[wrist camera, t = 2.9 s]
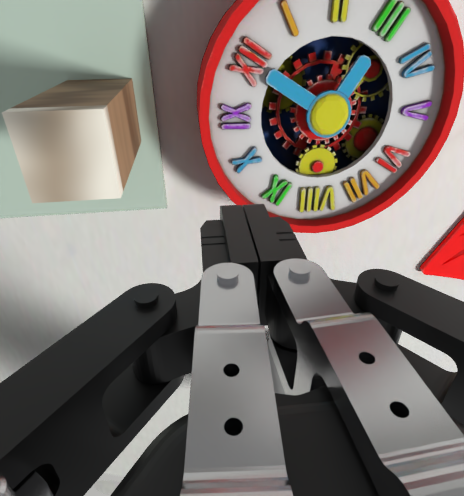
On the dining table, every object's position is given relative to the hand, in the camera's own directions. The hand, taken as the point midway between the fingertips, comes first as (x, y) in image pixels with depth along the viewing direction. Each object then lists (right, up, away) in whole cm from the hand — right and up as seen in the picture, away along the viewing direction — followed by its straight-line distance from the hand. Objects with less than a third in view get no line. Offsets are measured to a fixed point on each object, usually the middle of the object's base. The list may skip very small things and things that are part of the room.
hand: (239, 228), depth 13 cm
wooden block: (-11, +11, +17) cm, 23 cm away
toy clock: (+7, +12, +19) cm, 24 cm away
